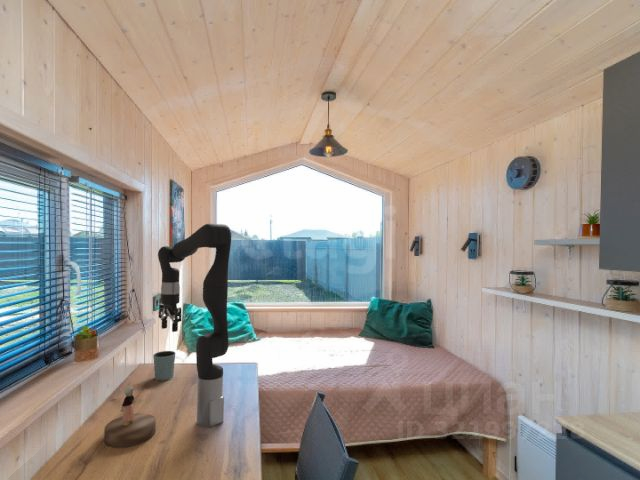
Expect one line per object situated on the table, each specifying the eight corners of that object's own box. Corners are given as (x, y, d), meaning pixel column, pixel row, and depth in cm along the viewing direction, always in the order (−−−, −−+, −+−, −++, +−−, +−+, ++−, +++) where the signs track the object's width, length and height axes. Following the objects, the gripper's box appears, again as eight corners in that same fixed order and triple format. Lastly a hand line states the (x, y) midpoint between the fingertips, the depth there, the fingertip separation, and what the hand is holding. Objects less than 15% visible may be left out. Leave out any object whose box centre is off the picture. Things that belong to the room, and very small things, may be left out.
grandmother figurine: (130, 426, 127) (131, 390, 128) (118, 427, 127) (119, 390, 127) (137, 416, 135) (138, 381, 135) (126, 417, 135) (127, 382, 135)
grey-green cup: (179, 375, 188) (179, 351, 188) (165, 382, 178) (166, 357, 178) (162, 373, 191) (162, 349, 191) (148, 380, 181) (148, 355, 181)
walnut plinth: (164, 434, 131) (164, 422, 131) (116, 453, 118) (117, 441, 118) (142, 419, 141) (142, 409, 141) (96, 436, 128) (96, 425, 128)
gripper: (153, 291, 162) (152, 328, 161) (171, 294, 153) (170, 334, 152) (169, 290, 167) (168, 326, 167) (187, 293, 159) (186, 331, 158)
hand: (169, 329), depth 160 cm, fingers open, 8 cm apart
